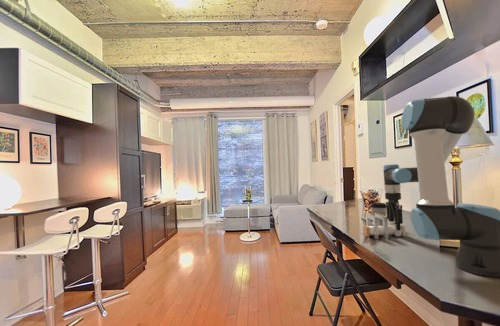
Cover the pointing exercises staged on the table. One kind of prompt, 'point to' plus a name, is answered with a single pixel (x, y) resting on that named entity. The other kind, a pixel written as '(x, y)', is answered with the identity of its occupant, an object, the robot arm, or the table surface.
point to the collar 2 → (385, 224)
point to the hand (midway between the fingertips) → (395, 234)
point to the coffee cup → (379, 210)
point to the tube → (391, 230)
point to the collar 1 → (375, 224)
